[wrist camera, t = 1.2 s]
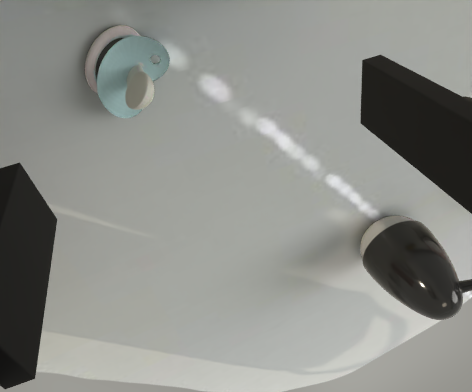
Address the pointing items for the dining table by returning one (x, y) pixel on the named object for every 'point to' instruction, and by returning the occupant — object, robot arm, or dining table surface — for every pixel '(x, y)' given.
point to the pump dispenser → (413, 267)
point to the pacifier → (125, 70)
